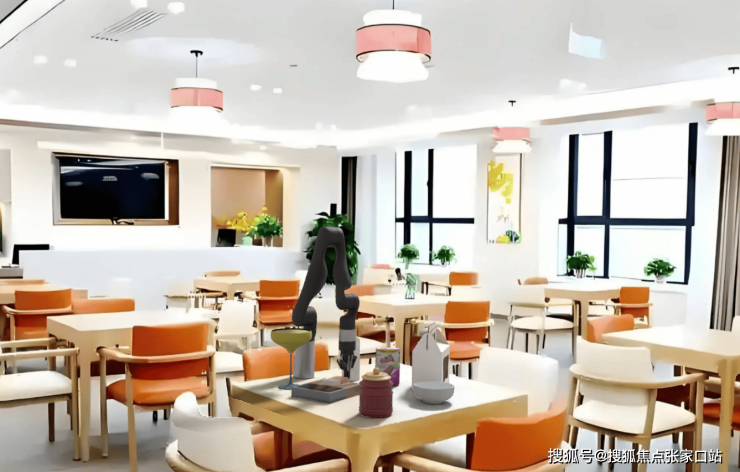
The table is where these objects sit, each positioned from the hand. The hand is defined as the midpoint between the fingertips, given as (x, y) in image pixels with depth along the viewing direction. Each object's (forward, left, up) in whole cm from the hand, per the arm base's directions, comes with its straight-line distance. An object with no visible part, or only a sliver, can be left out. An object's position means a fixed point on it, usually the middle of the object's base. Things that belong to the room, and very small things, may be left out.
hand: (346, 378), depth 321 cm
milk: (-10, +18, -5) cm, 21 cm away
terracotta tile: (0, -5, 0) cm, 6 cm away
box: (0, -20, -4) cm, 21 cm away
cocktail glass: (-22, -11, -5) cm, 25 cm away
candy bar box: (+9, +20, -5) cm, 22 cm away
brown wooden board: (0, -8, -4) cm, 10 cm away
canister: (+34, -28, -5) cm, 45 cm away
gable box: (+27, +28, -5) cm, 39 cm away
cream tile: (0, -11, 0) cm, 11 cm away
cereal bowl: (+42, +3, -5) cm, 42 cm away
